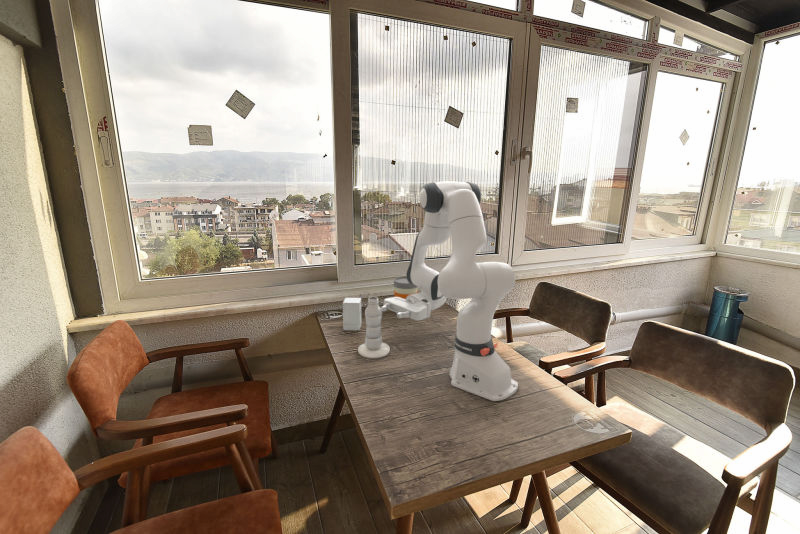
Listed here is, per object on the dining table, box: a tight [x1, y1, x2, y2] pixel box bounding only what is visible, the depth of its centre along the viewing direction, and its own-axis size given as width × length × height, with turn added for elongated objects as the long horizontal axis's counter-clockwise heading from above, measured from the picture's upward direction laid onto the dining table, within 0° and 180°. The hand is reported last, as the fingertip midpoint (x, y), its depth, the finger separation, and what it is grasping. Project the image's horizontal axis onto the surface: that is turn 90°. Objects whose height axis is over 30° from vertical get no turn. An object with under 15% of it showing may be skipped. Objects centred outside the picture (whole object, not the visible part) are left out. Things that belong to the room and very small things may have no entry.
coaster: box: [357, 342, 391, 359], centre depth 143 cm, size 12×12×1 cm
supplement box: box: [342, 297, 362, 331], centre depth 163 cm, size 7×7×13 cm
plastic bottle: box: [364, 296, 383, 350], centre depth 140 cm, size 6×7×20 cm
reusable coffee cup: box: [393, 276, 419, 299], centre depth 186 cm, size 12×13×15 cm
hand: (389, 312), depth 145 cm, fingers open, 8 cm apart
